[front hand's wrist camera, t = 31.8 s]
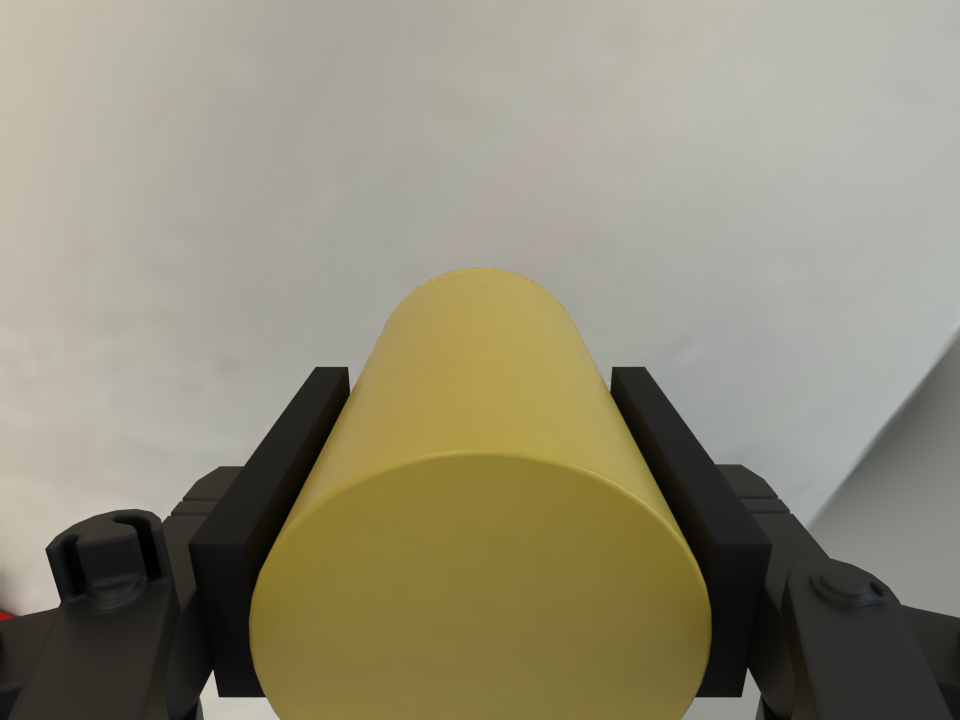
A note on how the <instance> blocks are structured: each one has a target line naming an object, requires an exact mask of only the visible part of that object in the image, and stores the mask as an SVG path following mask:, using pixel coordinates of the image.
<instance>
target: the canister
mask: <svg viewBox="0 0 960 720" xmlns="http://www.w3.org/2000/svg"><path fill="white" fill-rule="evenodd" d="M249 633H250V649H251V654H252V659H253V663H254V668H255V672H256V674H257V677H258V679H259V682H260V685H261V687H262V690H263V692H264V694H265V696H266V698H267V699H268V701H269V703H270V705H271V706H272V708H273V710H274V712H275V713H276V714H277V716H278V717H279V718H280V720H681V718H682V717H683V715H684V714H685V713H686V711H687V710H688V708H689V707H690V705H691V704H692V702H693V700H694V698H695V696H696V693H697V691H698V689H699V687H700V685H701V683H702V680H703V677H704V674H705V671H706V667H707V664H708V661H709V654H710V647H711V639H712V618H711V606H710V601H709V597H708V592H707V587H706V584H705V581H704V579H703V576H702V574H701V571H700V569H699V566H698V564H697V561H696V559H695V557H694V555H693V553H692V552H691V550H690V548H689V546H688V544H687V542H686V540H685V538H684V536H683V534H682V532H681V530H680V528H679V526H678V524H677V522H676V520H675V518H674V516H673V515H672V513H671V511H670V509H669V507H668V505H667V503H666V501H665V499H664V497H663V495H662V493H661V491H660V489H659V487H658V485H657V483H656V481H655V479H654V478H653V476H652V474H651V472H650V470H649V468H648V466H647V464H646V462H645V460H644V458H643V456H642V454H641V452H640V450H639V448H638V446H637V444H636V442H635V441H634V439H633V437H632V435H631V433H630V431H629V429H628V427H627V425H626V423H625V421H624V419H623V417H622V415H621V413H620V411H619V409H618V407H617V405H616V404H615V402H614V400H613V398H612V396H611V394H610V392H609V390H608V388H607V386H606V384H605V382H604V380H603V378H602V376H601V374H600V372H599V370H598V368H597V367H596V365H595V363H594V361H593V359H592V357H591V355H590V353H589V351H588V349H587V347H586V345H585V343H584V341H583V339H582V337H581V335H580V333H579V331H578V330H577V328H576V326H575V324H574V322H573V320H572V319H571V317H570V315H569V314H568V312H567V311H566V309H565V308H564V307H563V306H562V304H561V303H560V302H559V301H558V300H557V299H556V298H555V297H554V296H553V295H552V294H551V293H550V292H548V291H547V290H546V289H544V288H543V287H541V286H540V285H539V284H537V283H535V282H533V281H531V280H529V279H528V278H526V277H523V276H520V275H518V274H515V273H512V272H508V271H504V270H500V269H491V268H468V269H462V270H456V271H452V272H449V273H446V274H442V275H440V276H438V277H435V278H433V279H431V280H429V281H427V282H426V283H424V284H422V285H421V286H419V287H417V288H416V289H415V290H414V291H412V292H411V293H410V294H409V295H408V296H406V297H405V298H404V300H403V301H402V302H401V303H400V304H399V305H398V306H397V307H396V309H395V310H394V312H393V313H392V315H391V316H390V317H389V319H388V321H387V323H386V325H385V327H384V329H383V331H382V333H381V335H380V337H379V339H378V341H377V343H376V345H375V347H374V349H373V351H372V353H371V355H370V357H369V358H368V360H367V362H366V364H365V366H364V368H363V370H362V372H361V374H360V376H359V378H358V380H357V382H356V384H355V386H354V388H353V390H352V392H351V394H350V396H349V398H348V400H347V402H346V404H345V406H344V408H343V409H342V411H341V413H340V415H339V417H338V419H337V421H336V423H335V425H334V427H333V429H332V431H331V433H330V435H329V437H328V439H327V441H326V443H325V445H324V447H323V449H322V451H321V453H320V455H319V457H318V459H317V460H316V462H315V464H314V466H313V468H312V470H311V472H310V474H309V476H308V478H307V480H306V482H305V484H304V486H303V488H302V490H301V492H300V494H299V496H298V498H297V500H296V502H295V504H294V506H293V508H292V510H291V512H290V513H289V515H288V517H287V519H286V521H285V523H284V525H283V527H282V529H281V531H280V533H279V535H278V537H277V539H276V541H275V543H274V545H273V547H272V549H271V551H270V553H269V555H268V557H267V559H266V561H265V563H264V565H263V567H262V569H261V571H260V573H259V576H258V579H257V582H256V585H255V589H254V592H253V595H252V601H251V609H250V616H249Z"/></svg>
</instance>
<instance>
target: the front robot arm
mask: <svg viewBox="0 0 960 720" xmlns="http://www.w3.org/2000/svg"><path fill="white" fill-rule="evenodd" d="M610 394H611V396H612V398H613V400H614V402H615V404H616V405H617V407H618V409H619V411H620V413H621V415H622V417H623V419H624V421H625V423H626V425H627V427H628V429H629V431H630V433H631V435H632V437H633V439H634V441H635V442H636V444H637V446H638V448H639V450H640V452H641V454H642V456H643V458H644V460H645V462H646V464H647V466H648V468H649V470H650V472H651V474H652V476H653V478H654V479H655V481H656V483H657V485H658V487H659V489H660V491H661V493H662V495H663V497H664V499H665V501H666V503H667V505H668V507H669V509H670V511H671V513H672V515H673V516H674V518H675V520H676V522H677V524H678V526H679V528H680V530H681V532H682V534H683V536H684V538H685V540H686V542H687V544H688V546H689V548H690V550H691V552H692V553H693V555H694V557H695V559H696V561H697V564H698V566H699V569H700V571H701V574H702V576H703V579H704V581H705V584H706V587H707V592H708V597H709V601H710V606H711V618H712V639H711V647H710V654H709V661H708V664H707V667H706V671H705V674H704V677H703V680H702V683H701V685H700V687H699V689H698V691H697V693H696V696H695V697H742V692H743V687H744V682H745V677H746V673H747V668H749V670H750V672H751V674H752V676H753V678H754V680H755V682H756V684H757V686H758V688H759V690H760V692H761V696H760V700H759V705H758V710H757V714H756V719H755V720H960V618H958V617H953V616H949V615H944V614H939V613H935V612H930V611H926V610H921V609H916V608H912V607H908V606H905V605H901V604H900V602H899V600H898V599H897V597H896V596H895V595H894V593H893V592H892V591H891V589H890V588H889V587H888V586H887V585H885V584H884V583H883V582H881V581H880V580H879V579H877V578H876V577H875V576H874V575H872V574H870V573H868V572H866V571H864V570H862V569H860V568H858V567H856V566H854V565H852V564H848V563H844V562H841V561H838V560H834V559H830V558H829V557H828V555H827V554H826V553H825V552H824V551H823V549H822V548H821V547H820V546H819V545H818V543H817V542H816V541H815V540H814V539H813V538H812V536H811V535H810V534H809V533H808V531H807V530H806V529H805V528H804V527H803V525H802V524H801V523H800V522H799V521H798V519H797V518H796V517H795V516H794V515H793V514H790V510H789V509H788V507H787V506H786V505H785V504H784V503H783V501H782V500H781V499H778V496H777V494H776V493H775V492H774V491H773V490H772V488H771V487H770V486H769V485H768V484H767V482H766V481H765V480H764V479H763V478H761V477H760V476H758V475H757V474H755V473H753V472H752V471H750V470H749V469H747V468H745V467H744V466H742V465H715V464H714V462H713V461H712V460H711V458H710V457H709V455H708V454H707V453H706V451H705V450H704V448H703V447H702V446H701V444H700V443H699V442H698V440H697V439H696V437H695V436H694V435H693V433H692V432H691V430H690V429H689V428H688V426H687V425H686V424H685V422H684V421H683V419H682V418H681V417H680V415H679V414H678V412H677V411H676V410H675V408H674V407H673V406H672V404H671V403H670V401H669V400H668V399H667V397H666V396H665V394H664V393H663V392H662V390H661V389H660V388H659V386H658V385H657V383H656V382H655V381H654V379H653V378H652V376H651V375H650V374H649V372H648V371H647V370H646V368H645V367H612V378H611V390H610ZM349 396H350V386H349V373H348V367H315V369H314V370H313V371H312V373H311V374H310V376H309V377H308V378H307V380H306V381H305V383H304V384H303V385H302V387H301V388H300V389H299V391H298V392H297V394H296V395H295V396H294V398H293V399H292V401H291V402H290V403H289V405H288V406H287V407H286V409H285V410H284V412H283V413H282V414H281V416H280V417H279V419H278V420H277V421H276V423H275V424H274V425H273V427H272V428H271V430H270V431H269V432H268V434H267V435H266V437H265V438H264V439H263V441H262V442H261V444H260V445H259V446H258V448H257V449H256V450H255V452H254V453H253V455H252V456H251V457H250V459H249V460H248V462H247V463H246V464H245V466H220V467H218V468H217V469H215V470H214V471H212V472H210V473H209V474H207V475H206V476H204V477H203V478H201V479H199V480H198V481H197V482H196V483H195V484H194V485H193V486H192V488H191V489H190V490H189V491H188V493H187V494H186V495H185V496H184V497H183V501H180V502H179V503H178V505H177V506H176V507H175V508H174V509H173V511H172V512H171V516H168V517H167V518H166V519H165V520H164V521H163V523H161V519H160V518H159V517H158V516H156V515H155V514H154V513H152V512H149V511H144V510H139V509H129V510H116V511H112V512H108V513H104V514H100V515H96V516H93V517H91V518H88V519H86V520H84V521H81V522H79V523H77V524H74V525H73V526H71V527H70V528H68V529H67V530H65V531H64V532H62V533H61V534H59V535H58V536H56V537H55V538H54V540H53V541H52V542H51V543H50V544H49V545H48V546H47V548H46V549H45V550H46V553H47V557H48V560H49V563H50V566H51V570H52V573H53V576H54V580H55V583H56V586H57V589H58V593H59V596H60V599H61V603H60V605H59V607H58V608H54V609H51V610H47V611H42V612H38V613H33V614H28V615H24V616H19V617H14V618H10V619H5V620H1V621H0V720H204V718H203V711H202V705H201V700H200V694H201V692H202V690H203V688H204V686H205V684H206V682H207V680H208V678H209V676H210V674H211V672H212V670H213V671H214V675H215V680H216V685H217V690H218V695H219V697H266V696H265V694H264V692H263V690H262V687H261V685H260V682H259V679H258V677H257V674H256V672H255V668H254V663H253V659H252V654H251V649H250V633H249V616H250V609H251V601H252V595H253V592H254V589H255V585H256V582H257V579H258V576H259V573H260V571H261V569H262V567H263V565H264V563H265V561H266V559H267V557H268V555H269V553H270V551H271V549H272V547H273V545H274V543H275V541H276V539H277V537H278V535H279V533H280V531H281V529H282V527H283V525H284V523H285V521H286V519H287V517H288V515H289V513H290V512H291V510H292V508H293V506H294V504H295V502H296V500H297V498H298V496H299V494H300V492H301V490H302V488H303V486H304V484H305V482H306V480H307V478H308V476H309V474H310V472H311V470H312V468H313V466H314V464H315V462H316V460H317V459H318V457H319V455H320V453H321V451H322V449H323V447H324V445H325V443H326V441H327V439H328V437H329V435H330V433H331V431H332V429H333V427H334V425H335V423H336V421H337V419H338V417H339V415H340V413H341V411H342V409H343V408H344V406H345V404H346V402H347V400H348V398H349Z"/></svg>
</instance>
